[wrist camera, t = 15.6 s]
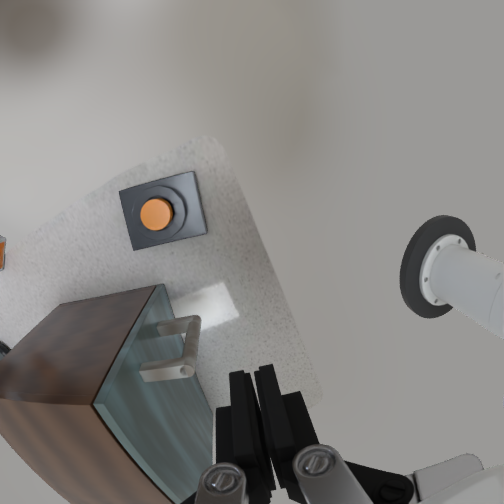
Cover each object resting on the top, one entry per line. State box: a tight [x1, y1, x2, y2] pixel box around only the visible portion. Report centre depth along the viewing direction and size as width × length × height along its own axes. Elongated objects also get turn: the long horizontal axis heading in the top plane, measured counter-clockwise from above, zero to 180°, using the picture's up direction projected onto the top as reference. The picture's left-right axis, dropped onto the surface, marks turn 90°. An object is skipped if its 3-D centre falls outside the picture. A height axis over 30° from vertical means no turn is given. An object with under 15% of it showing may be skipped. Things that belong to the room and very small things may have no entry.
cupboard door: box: [93, 284, 213, 504], centre depth 30 cm, size 6×26×24 cm, turn 11°
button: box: [141, 198, 173, 230], centre depth 32 cm, size 4×4×2 cm
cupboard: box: [0, 285, 176, 504], centre depth 30 cm, size 18×26×24 cm
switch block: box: [119, 171, 208, 251], centre depth 34 cm, size 10×8×4 cm
